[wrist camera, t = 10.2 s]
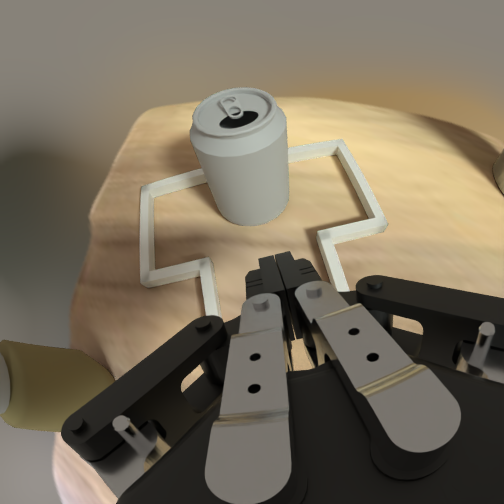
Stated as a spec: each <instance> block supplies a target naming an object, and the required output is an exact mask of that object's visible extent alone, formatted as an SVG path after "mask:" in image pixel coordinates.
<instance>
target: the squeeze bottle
mask: <svg viewBox="0 0 504 504" xmlns="http://www.w3.org/2000/svg"><path fill="white" fill-rule="evenodd" d="M114 382H115V380H114V378H113V377H112V375H111V374H110V373H109V371H108V370H107V369H106V368H104V367H103V366H101V365H100V364H99V363H98V362H96V361H95V360H94V359H92V358H91V357H90V356H88V355H87V354H85V353H84V352H82V351H81V350H75V349H65V348H55V347H48V346H40V345H33V344H26V343H20V342H13V341H8V340H2V341H1V342H0V416H1V417H2V418H3V420H4V421H5V422H6V423H7V424H9V425H11V426H12V427H14V428H21V429H29V430H39V431H51V432H61V429H62V425H63V423H64V422H65V420H66V419H67V418H68V417H69V416H70V415H71V414H73V413H74V412H75V411H77V410H78V409H79V408H81V407H82V406H83V405H85V404H86V403H87V402H89V401H90V400H91V399H93V398H94V397H95V396H97V395H98V394H99V393H101V392H102V391H103V390H105V389H106V388H107V387H109V386H110V385H111V384H112V383H114Z"/></svg>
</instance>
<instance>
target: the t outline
mask: <svg viewBox="0 0 504 504" xmlns="http://www.w3.org/2000/svg"><path fill="white" fill-rule="evenodd" d="M331 155H337V156H338V158H339V160H340V162H341V164H342V165H343V167H344V169H345V171H346V173H347V175H348V177H349V179H350V181H351V183H352V185H353V187H354V189H355V191H356V193H357V195H358V197H359V199H360V201H361V203H362V205H363V207H364V209H365V212H366V214H367V216H368V218H369V219H367V220H363V221H358V222H354V223H350V224H345V225H341V226H337V227H333V228H328V229H324V230H320V231H317V237H316V240H317V243H318V246H319V249H320V252H321V255H322V258H323V261H324V264H325V267H326V270H327V273H328V276H329V279H330V283H331V285H332V286H333V287H334V288H335V289H336V290H337V291H339V292H346V291H349V288H348V285H347V282H346V279H345V276H344V273H343V270H342V267H341V264H340V261H339V258H338V255H337V253H336V250H335V247H334V244H338V243H342V242H346V241H350V240H354V239H358V238H362V237H366V236H370V235H374V234H378V233H382V232H384V231H385V229H386V227H387V226H388V223H387V220H386V218H385V216H384V214H383V212H382V210H381V208H380V206H379V204H378V202H377V200H376V198H375V196H374V194H373V192H372V190H371V188H370V186H369V184H368V183H367V181H366V179H365V177H364V175H363V173H362V172H361V170H360V168H359V166H358V164H357V163H356V161H355V159H354V158H353V156H352V154H351V152H350V151H349V149H348V147H347V146H346V144H345V142H344V141H343V139H338V140H332V141H325V142H319V143H313V144H307V145H301V146H296V147H290V148H288V163H293V162H298V161H303V160H309V159H314V158H320V157H326V156H331ZM203 183H207V180H206V178H205V175H204V173H203V170H202V168H200V169H196V170H193V171H189V172H186V173H183V174H179V175H176V176H173V177H169V178H166V179H163V180H160V181H157V182H154V183H150V184H147V185H144V186H141V204H140V283H141V284H142V285H144V286H145V287H147V288H151V287H155V286H160V285H164V284H169V283H173V282H177V281H182V280H186V279H191V278H195V277H199V276H201V283H202V291H203V297H204V304H205V311H206V316H207V315H216V316H219V317H221V318H222V315H221V309H220V303H219V297H218V291H217V285H216V279H215V273H214V266H213V262H212V261H211V259H210V258H209V257H206V258H202V259H198V260H194V261H190V262H186V263H181V264H177V265H173V266H169V267H165V268H161V269H157V270H155V251H154V198H155V197H159V196H162V195H165V194H168V193H172V192H175V191H178V190H182V189H185V188H189V187H192V186H196V185H200V184H203Z"/></svg>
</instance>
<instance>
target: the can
mask: <svg viewBox="0 0 504 504" xmlns="http://www.w3.org/2000/svg"><path fill="white" fill-rule="evenodd" d="M192 117H193V124H192V127H191V129H190V140H191V143H192V145H193V148H194V150H195V153H196V155H197V158H198V160H199V163H200V165H201V168H202V170H203V173H204V175H205V178H206V180H207V183H208V185H209V188H210V190H211V193H212V195H213V197H214V200H215V202H216V205H217V207H218V209H219V211H220V212H221V214H222V215H223V216H224V217H225V218H226V219H228V220H229V221H230V222H232V223H235V224H238V225H241V226H257V225H261V224H265V223H268V222H269V221H271V220H273V219H275V218H277V217H278V216H279V215H280V214H281V213H282V212H283V210H284V209H285V207H286V205H287V203H288V201H289V169H288V143H287V122H286V116H285V114H284V112H283V111H282V109H281V108H279V107H278V106H277V103H276V101H275V99H274V97H272V96H271V95H270V94H268V93H267V92H265V91H262V90H259V89H256V88H248V87H241V88H231V89H227V90H223V91H220V92H218V93H215V94H213V95H211V96H209V97H208V98H206V99H205V100H203V101H202V102H201V103H200V104H199V105H198V106H197V107H196V109H195V111H194V113H193V116H192Z"/></svg>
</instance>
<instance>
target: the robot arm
mask: <svg viewBox="0 0 504 504" xmlns="http://www.w3.org/2000/svg"><path fill="white" fill-rule="evenodd" d="M493 174H494V178H495V180H496V182H497V184H498V186H499V188H500V190H501V191H502V193H503V194H504V149H503V151H502V152H501V154H500V156H499V157H498V159H497V160H496V162H495V163H494V165H493ZM258 260H259V266H260V269H257V270H253V271H249V273H248V274H247V275H246V277H245V281H246V301H245V302H244V303H243V305H242V310H241V315H240V316H238V317H236V318H235V319H232V320H230V321H228V322H225V323H224V322H223V320H222V318H221V317H219V316H216V315H207V316H203V317H200V318H197V319H195V320H194V321H192V322H191V323H189V324H188V325H187V326H186V327H184V328H183V329H182V330H181V331H179V332H178V333H177V334H176V335H174V336H173V337H172V338H171V339H169V340H168V341H167V342H165V343H164V344H163V345H162V346H160V347H159V348H158V349H156V350H155V351H154V352H153V353H151V354H150V355H149V356H147V357H146V358H145V359H144V360H142V361H141V362H140V363H138V364H137V365H136V366H135V367H133V368H132V369H131V370H129V371H128V372H127V373H126V374H124V375H123V376H122V377H120V378H119V379H118V380H116V381H115V382H114V383H112V384H111V385H110V386H109V387H107V388H106V389H105V390H103V391H102V392H101V393H99V394H98V395H97V396H95V397H94V398H93V399H91V400H90V401H89V402H87V403H86V404H85V405H83V406H82V407H81V408H79V409H78V410H77V411H75V412H74V413H73V414H71V415H70V416H69V417H68V418H67V419H66V420H65V422H64V423H63V425H62V429H61V436H62V438H63V440H64V441H65V442H66V443H67V444H68V445H69V446H70V447H71V448H72V449H73V450H74V451H76V452H77V453H78V454H79V455H80V457H81V458H82V459H83V460H84V461H86V462H87V463H88V464H89V465H90V466H92V467H93V468H94V469H95V470H96V472H97V473H98V474H99V476H100V477H101V478H102V479H103V481H104V482H105V483H106V485H107V486H108V487H109V488H110V489H111V491H112V492H113V493H114V494H115V495H116V497H117V498H118V501H117V503H116V504H504V298H499V297H494V296H489V295H483V294H478V293H473V292H467V291H462V290H457V289H451V288H446V287H440V286H435V285H430V284H424V283H419V282H414V281H408V280H403V279H398V278H392V277H387V276H381V275H373V276H367V277H364V278H362V279H361V280H359V281H358V282H357V284H356V291H346V292H339V291H337V290H336V289H335V288H334V287H333V286H332V285H331V284H330V283H328V282H325V281H322V279H321V278H320V276H319V275H318V273H317V271H316V270H315V268H314V267H313V265H312V264H311V262H310V261H308V260H306V259H304V258H302V259H298V260H294V258H293V257H292V255H291V253H290V251H288V252H284V253H280V254H276V255H275V259H274V256H273V255H272V256H268V257H263V258H259V259H258ZM275 260H276V262H275ZM276 264H277V265H276ZM393 315H397V316H401V317H405V318H409V319H413V320H416V321H418V322H419V323H420V324H421V325H422V327H423V335H420V334H416V333H413V332H409V331H405V330H402V329H398V328H394V327H393ZM292 325H293V327H292ZM293 329H294V332H295V335H296V339H300V338H303V341H304V347H305V352H306V354H307V357H308V359H309V361H310V363H311V365H312V368H313V369H310V370H301V371H294V365H293V357H292V352H291V349H292V344H291V341H293V340H295V337H294V332H293ZM198 365H201V367H202V369H203V371H204V373H203V374H202V375H201V376H200V377H199V378H198V379H197V380H196V381H195V382H194V383H192V384H191V385H190V386H189V387H188V388H187V389H186V390H185V391H184V392H183V393H182V391H181V383H182V381H183V379H184V378H185V377H186V376H187V375H188V374H190V373H191V372H192V371H193V370H194V369H195V368H196V367H197V366H198Z"/></svg>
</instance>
